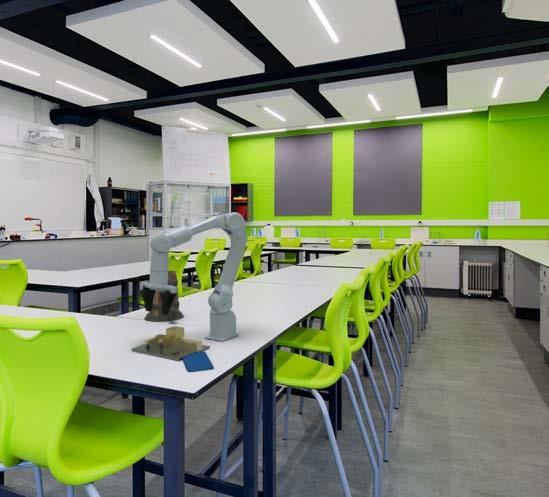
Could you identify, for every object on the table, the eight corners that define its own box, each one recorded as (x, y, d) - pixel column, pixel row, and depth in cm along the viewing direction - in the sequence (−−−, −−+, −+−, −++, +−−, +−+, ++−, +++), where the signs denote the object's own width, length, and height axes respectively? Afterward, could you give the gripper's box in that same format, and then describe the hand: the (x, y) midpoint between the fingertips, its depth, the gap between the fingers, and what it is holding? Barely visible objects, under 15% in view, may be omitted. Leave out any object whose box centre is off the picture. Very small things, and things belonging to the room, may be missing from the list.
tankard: (139, 316, 176) (138, 270, 175) (177, 311, 185) (176, 268, 184) (153, 327, 156) (152, 276, 155) (194, 322, 165) (194, 273, 163)
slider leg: (175, 342, 131) (174, 326, 131) (184, 344, 129) (184, 327, 129) (155, 349, 124) (155, 331, 124) (165, 351, 122) (164, 333, 122)
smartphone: (187, 371, 107) (180, 353, 121) (187, 375, 107) (180, 356, 121) (214, 368, 109) (205, 351, 123) (214, 371, 109) (205, 354, 123)
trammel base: (164, 340, 138) (164, 330, 138) (209, 348, 128) (209, 338, 128) (131, 350, 126) (131, 340, 126) (178, 361, 116) (178, 350, 116)
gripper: (134, 269, 131) (131, 310, 132) (166, 273, 124) (164, 317, 124) (150, 268, 137) (148, 308, 138) (182, 272, 130) (180, 314, 131)
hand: (157, 312), depth 132 cm, fingers open, 7 cm apart
